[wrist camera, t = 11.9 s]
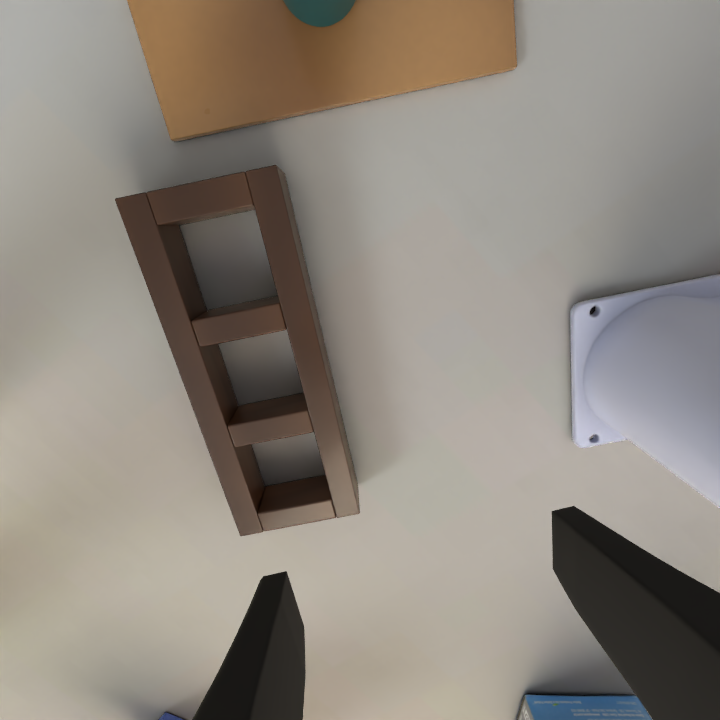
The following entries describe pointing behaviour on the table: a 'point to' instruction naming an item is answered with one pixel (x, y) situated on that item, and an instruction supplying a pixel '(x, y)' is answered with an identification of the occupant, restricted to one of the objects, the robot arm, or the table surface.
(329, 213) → the table surface
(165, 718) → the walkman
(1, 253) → the table surface
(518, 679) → the table surface
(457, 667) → the table surface
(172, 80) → the cork mat
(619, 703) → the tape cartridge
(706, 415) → the robot arm
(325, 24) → the teal capped bottle
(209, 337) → the pen stand
